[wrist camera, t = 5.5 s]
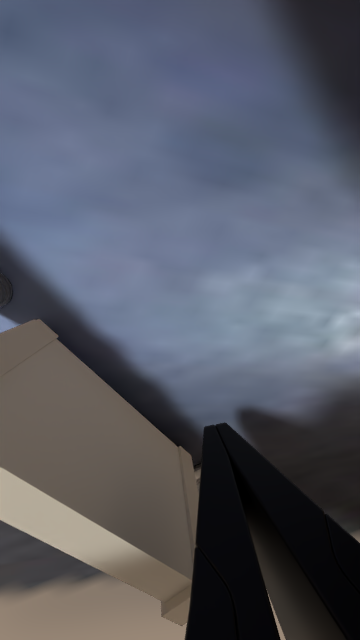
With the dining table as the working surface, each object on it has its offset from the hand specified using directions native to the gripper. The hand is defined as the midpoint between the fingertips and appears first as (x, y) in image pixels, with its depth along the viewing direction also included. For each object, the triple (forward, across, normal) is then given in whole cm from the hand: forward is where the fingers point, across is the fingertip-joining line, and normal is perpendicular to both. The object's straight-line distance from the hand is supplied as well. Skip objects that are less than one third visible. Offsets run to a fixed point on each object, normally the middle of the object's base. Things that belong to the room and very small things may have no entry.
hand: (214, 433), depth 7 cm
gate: (+3, +4, 0) cm, 5 cm away
